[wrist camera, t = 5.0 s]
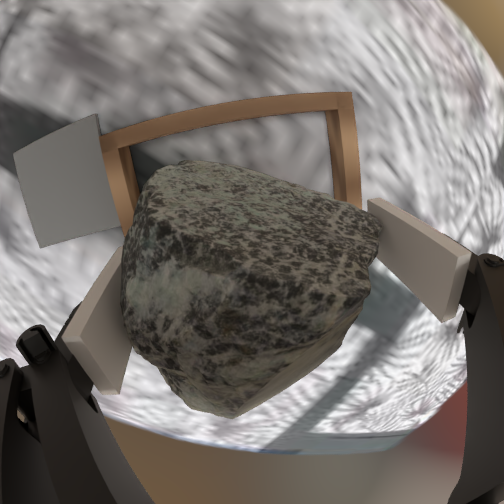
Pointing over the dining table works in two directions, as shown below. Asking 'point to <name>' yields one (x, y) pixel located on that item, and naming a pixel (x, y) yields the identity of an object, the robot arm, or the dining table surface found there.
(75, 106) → the dining table surface
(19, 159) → the slate coaster
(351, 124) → the frame
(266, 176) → the stone
